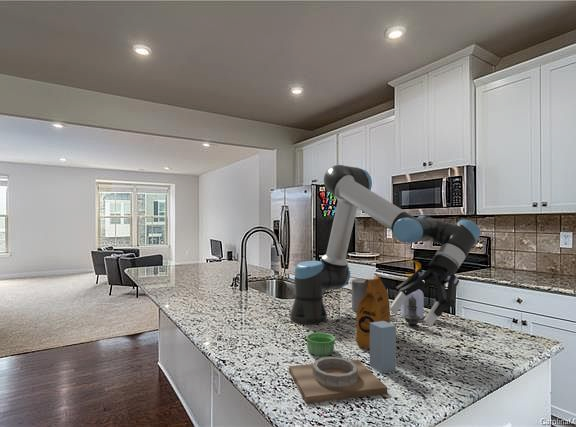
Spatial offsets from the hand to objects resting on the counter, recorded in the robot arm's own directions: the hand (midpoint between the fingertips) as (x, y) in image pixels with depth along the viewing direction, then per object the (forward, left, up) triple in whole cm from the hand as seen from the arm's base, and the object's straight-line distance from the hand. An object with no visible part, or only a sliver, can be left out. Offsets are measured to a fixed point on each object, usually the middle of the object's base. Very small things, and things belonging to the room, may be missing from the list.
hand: (408, 317), depth 96 cm
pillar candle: (-55, +12, -13) cm, 58 cm away
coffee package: (-16, -3, -13) cm, 21 cm away
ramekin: (-14, -22, -14) cm, 29 cm away
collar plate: (+6, -25, -13) cm, 29 cm away
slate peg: (+1, -9, -13) cm, 16 cm away
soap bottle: (-42, +29, -13) cm, 53 cm away
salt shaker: (-30, +21, -13) cm, 39 cm away
